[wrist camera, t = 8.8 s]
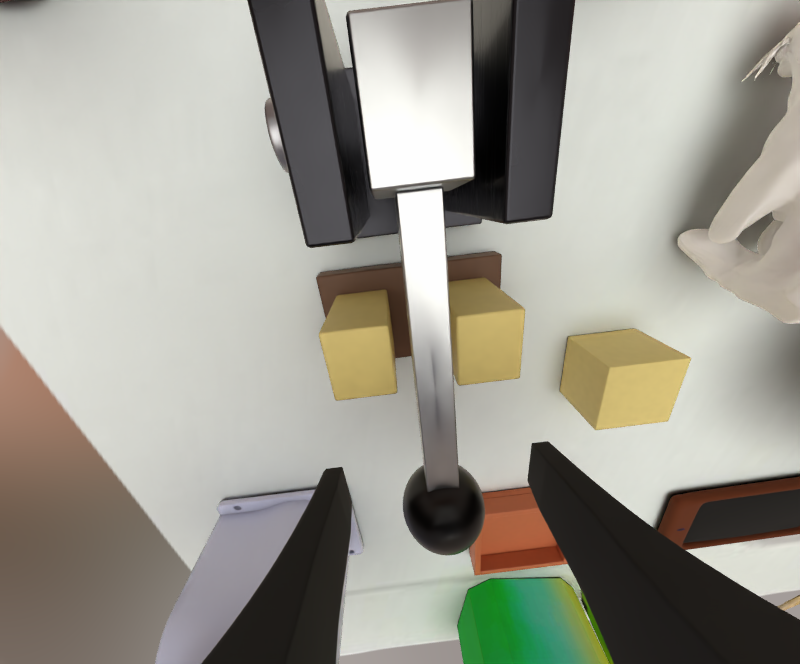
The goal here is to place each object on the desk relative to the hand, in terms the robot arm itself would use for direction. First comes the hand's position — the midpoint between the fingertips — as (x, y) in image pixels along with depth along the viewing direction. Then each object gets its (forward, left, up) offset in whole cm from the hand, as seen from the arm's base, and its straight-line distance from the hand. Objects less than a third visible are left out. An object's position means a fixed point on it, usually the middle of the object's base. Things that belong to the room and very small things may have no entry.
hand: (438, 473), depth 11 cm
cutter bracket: (0, +11, -7) cm, 13 cm away
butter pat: (+11, -1, -7) cm, 13 cm away
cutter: (0, +5, -1) cm, 5 cm away
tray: (+7, -16, -7) cm, 19 cm away
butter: (0, +4, -7) cm, 8 cm away
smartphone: (+27, -18, -7) cm, 33 cm away
